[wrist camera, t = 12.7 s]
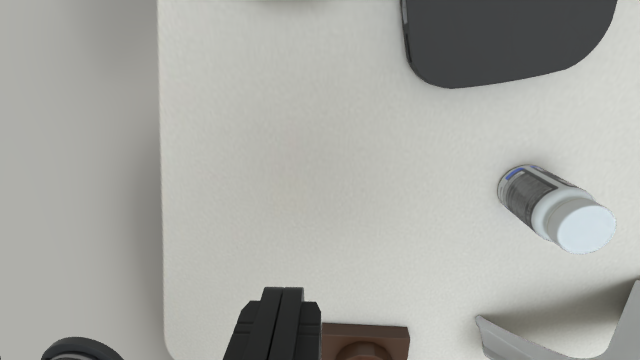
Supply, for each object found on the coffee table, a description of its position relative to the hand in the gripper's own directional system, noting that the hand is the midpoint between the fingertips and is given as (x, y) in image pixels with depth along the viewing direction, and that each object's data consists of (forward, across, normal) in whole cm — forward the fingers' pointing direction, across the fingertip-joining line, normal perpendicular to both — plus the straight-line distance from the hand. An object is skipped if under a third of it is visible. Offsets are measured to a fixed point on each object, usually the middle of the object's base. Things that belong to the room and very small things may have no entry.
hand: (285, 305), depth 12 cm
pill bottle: (+19, -20, +2) cm, 28 cm away
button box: (+20, -5, +24) cm, 32 cm away
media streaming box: (+19, -14, -15) cm, 28 cm away
